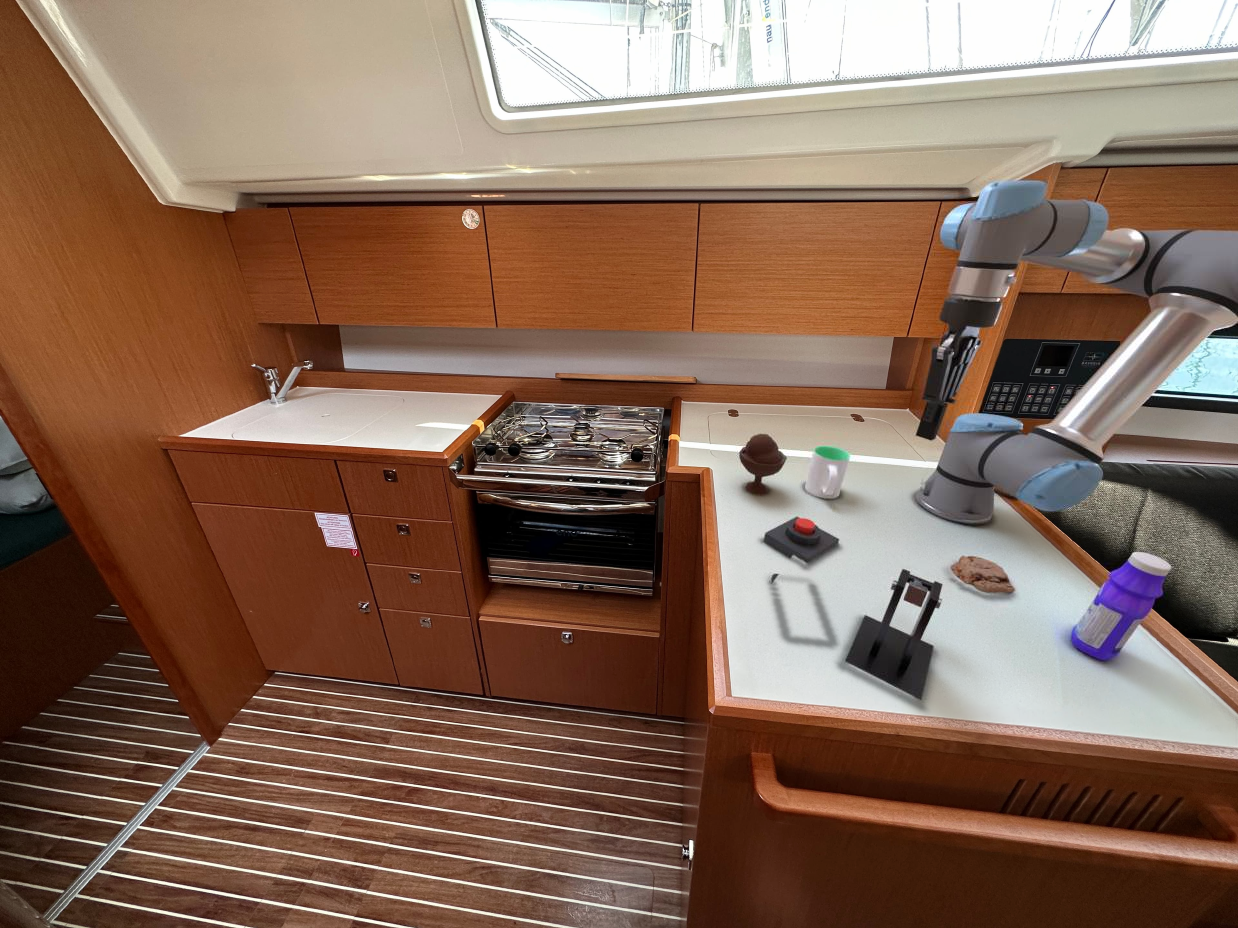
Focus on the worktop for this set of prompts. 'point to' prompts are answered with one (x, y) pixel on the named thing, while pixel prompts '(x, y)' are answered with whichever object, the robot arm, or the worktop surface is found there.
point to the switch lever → (917, 590)
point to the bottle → (1120, 606)
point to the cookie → (982, 574)
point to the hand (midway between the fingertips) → (925, 437)
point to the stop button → (804, 526)
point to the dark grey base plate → (799, 541)
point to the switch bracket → (896, 644)
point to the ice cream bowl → (761, 460)
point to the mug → (827, 471)
